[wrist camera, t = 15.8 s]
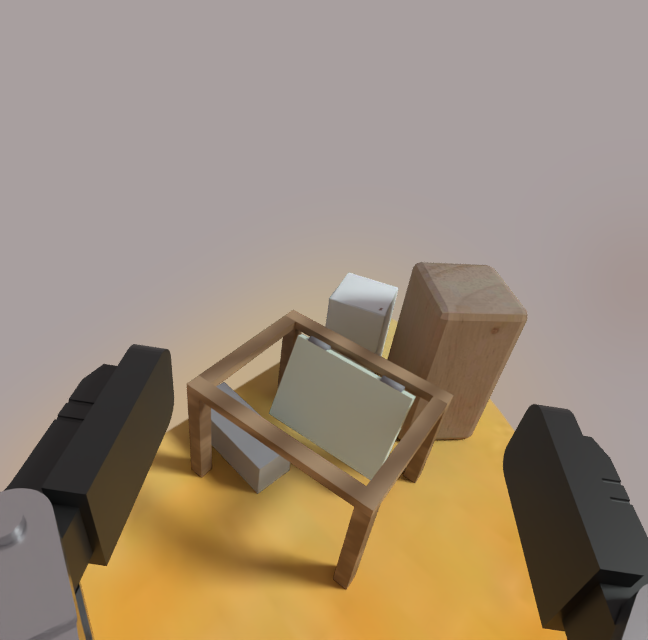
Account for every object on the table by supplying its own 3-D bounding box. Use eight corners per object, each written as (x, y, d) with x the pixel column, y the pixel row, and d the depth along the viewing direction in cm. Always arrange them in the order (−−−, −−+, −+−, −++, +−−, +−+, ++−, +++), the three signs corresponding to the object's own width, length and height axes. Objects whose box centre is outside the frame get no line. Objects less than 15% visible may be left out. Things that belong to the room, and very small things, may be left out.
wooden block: (472, 441, 61) (534, 314, 49) (395, 444, 59) (441, 311, 47) (445, 384, 68) (494, 262, 56) (377, 384, 67) (412, 258, 55)
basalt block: (257, 495, 51) (192, 425, 57) (289, 471, 54) (223, 407, 60) (259, 469, 49) (191, 399, 55) (292, 445, 51) (224, 382, 57)
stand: (191, 469, 52) (186, 383, 45) (284, 389, 64) (293, 309, 56) (346, 589, 45) (373, 510, 37) (420, 474, 56) (453, 395, 48)
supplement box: (382, 359, 71) (401, 287, 63) (366, 391, 65) (385, 316, 58) (335, 342, 73) (348, 270, 65) (316, 372, 67) (328, 297, 59)
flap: (273, 411, 56) (268, 413, 55) (304, 330, 53) (299, 331, 53) (377, 478, 51) (374, 482, 50) (417, 392, 48) (414, 394, 47)
